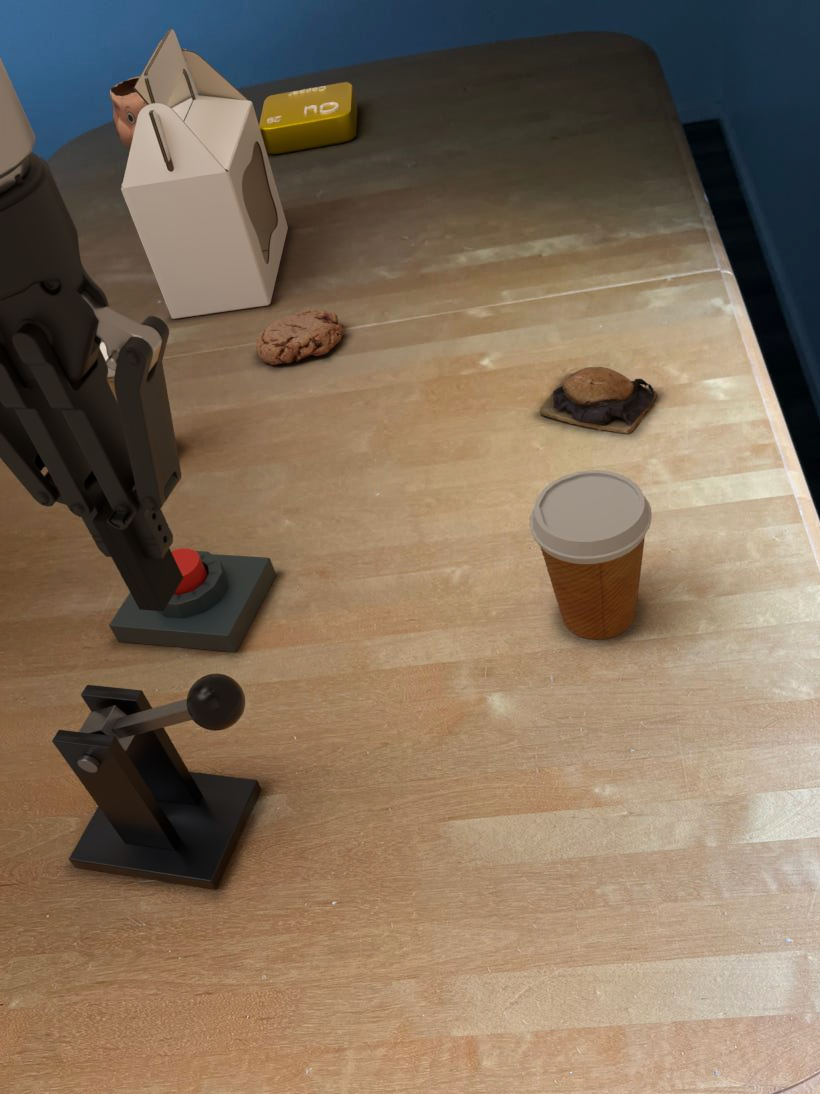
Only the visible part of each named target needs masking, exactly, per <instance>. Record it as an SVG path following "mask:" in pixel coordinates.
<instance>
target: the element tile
mask: <svg viewBox="0 0 820 1094" xmlns="http://www.w3.org/2000/svg"><path fill="white" fill-rule="evenodd" d="M353 87H354V86H353V85H352V83H350V82H349V81H344V82H337V83H332V84H331V83H330V84H327V85H321V86H315V87H309V88H303V89H300V90H293V91H287V92H281V93H276V94H271V95H268V96H267V97H266V98H265V99H264V101H263V106H262V110H261V115H260V121H259V123H258V124H259V128H260V131H261V135H262V138H263V142H264V145H265V149H266V152H267V155H271V156H276V155H282V154H288V153H294V152H300V151H305V150H312V149H316V148H317V149H318V148H323V147H328V146H334V145H335V146H336V145H339V144H344V143H349V142H351V141H352V140H354V139H355V138H356V136H357V128H358V127H357V123H358V106H357V101H356V97H355V91H354V88H353Z"/></svg>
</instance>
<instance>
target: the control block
mask: <svg viewBox="0 0 820 1094" xmlns="http://www.w3.org/2000/svg"><path fill="white" fill-rule="evenodd" d="M195 551H196V552H197V553H198V554H199V556H200V559H201V561H202V563H203V565H204V567H205V570H206V572H207V576H206V580H205V581H204V583H203V584H202V585H200V586H199V587H198V588H196V589H195V590H193V591H191V592H188V593H184V594H181V595H173V596H172V598H171V600H170V601H169V603H168V605H167V606H166V608H165V610H164V611H152V610H139V608H138V606H137V604H136V602H135V600H134V598H133V596H132V595H131V593H130V592H129V593H128V594H127V596H126V598H125V599H124V601H123V603H122V604H121V606H120V607H119V609H118V611H116V614H115V615H114V617H113V618H112V620H111V621H110V623H108V627H109V628H110V630H111V632H112V633H113V635H114V638H115V639H116V640H117V642H118V643H119V642H120V643H130V644H141V645H151V646H152V645H153V646H163V647H175V648H184V649H197V650H206V651H207V650H208V651H219V652H230V653H236V652H237V651H238V649H239V647H240V645H241V643H242V641H243V639H244V637H245V635H246V634H247V632H248V630H249V629H250V626H251V624H252V622H253V620H254V619H255V617H256V615H257V612H258V611H259V608H260V607H261V605H262V603H263V601H264V599H265V597H266V595H267V593H268V591H269V589H270V587H271V586H272V583H273V581H274V580H275V578H276V576H277V573H276V570H275V567H274V565H273V562H272V560H271V557H263V556H247V555H233V554H231V555H230V554H216V553H211V552H210V551H206V550H205V551H204V550H195Z"/></svg>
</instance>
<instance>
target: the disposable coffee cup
mask: <svg viewBox="0 0 820 1094" xmlns="http://www.w3.org/2000/svg"><path fill="white" fill-rule="evenodd" d="M652 513H653V512H652V507H651V505H650V502H649V500H648V499H647V497H645V495H644V492H643V491H642V489H641V487H640V486H639V485H638V483H636V482H634V480H632V479H631V478H630V477H627V476H625V475H623V474H620V473H618V472H613V471H609V470H602V469H601V470H600V469H589V470H581V471H575V472H573V473H568V474H565V475H563V476H561V477H559V478H557V479H555V480H553V481H552V482H549V483H548V485H546V486H545V487H544V488H543V489H542V490H541V491H540V493H539V494H538V495H537V497H536V499H535V502H534V505H533V508H532V510H531V513H530V516H529V528H530V532H531V535H532V538H533V539H534V540H535V542H536V543H537V545H538V546H539V547H540V550H541V553H542V556H543V560H544V563H545V567H546V569H547V573H548V576H549V579H550V583H551V586H552V589H553V593H554V596H555V599H556V603H557V605H558V609H559V612H560V616H561V619H562V623H563V624H564V627H566V628H567V629H568V631H569V632H571V633H572V634H574V635H575V636H577V637H581V638H585V639H587V640H603V639H609V638H613V637H616V636H618V635H620V634H621V633H623V632H625V631H626V630H628V629H629V628H630V626H631V625H632V624H633V622H634V620H635V618H636V615H637V605H638V595H639V589H640V581H641V571H642V563H643V556H644V547H645V540H646V539H645V538H646V536H647V535H646V534H647V532H648V531H649V529H650V527H651V523H652V518H653V517H652V516H653V514H652Z"/></svg>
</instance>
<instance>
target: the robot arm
mask: <svg viewBox="0 0 820 1094" xmlns="http://www.w3.org/2000/svg"><path fill="white" fill-rule="evenodd" d="M35 144H36V135H35V132H34V131H33V127H32V125H31V123H30V121H29V119H28V117H27V114H26V112H25V110H24V108H23V105H22V104H21V101H20V99H19V96H18V94H17V92H16V90H15V87H14V85H13V82H12V81H11V79H10V76H9V74H8V72H7V69H6V67H5V64H4V63H3V60H2V58H1V57H0V460H1V461H2V462H3V463H4V465H5V466H6V467H7V468H8V469H9V470H10V472H11V473H12V474H13V475H14V476H15V478H16V479H17V480H18V481H19V483H20V484H22V486H23V487H24V489H25V490H26V491H27V492H28V493H29V495H31V497H32V498H33V499H34V501H36V502H37V504H40V505H42V506H43V507H52V506H54V505H55V503H59V504H61V505H64V506H67V508H68V510H69V511H70V513H72V514H73V515H75V516H77V517H79V518H81V519H82V521H83V523H84V525H85V527H86V528H87V530H88V532H89V534H90V535H91V538H92V539H93V542H94V544H95V545H96V547H97V549H98V551H100V552H101V554H103V556H105V557H106V558H107V557H109V558H111V560H112V561H113V563H114V565H115V567H116V568H117V571H118V573H119V574H120V576H121V578H122V580H123V581H124V583H125V586H126V587H127V589H128V591H129V593H131V595H132V596H133V598H134V600H135V602H136V604H137V606H138V608H139V610H152V611H164V610H165V608H166V606H167V605H168V603H169V601H170V600H171V598H172V596H173V595H174V593H175V591H176V590H177V588H178V586H179V585H180V583H181V581H182V580H183V578H184V577H183V575H182V573H181V571H180V569H179V567H178V565H177V563H176V561H175V559H174V557H173V555H172V552H171V551H172V550H171V546H172V544H173V543H174V535H173V532H172V530H171V528H170V527H169V523H168V522H167V520H166V517H165V515H164V513H163V511H162V508H163V506H164V505H165V503H166V502H167V500H168V498H169V497H170V495H171V494H172V493H173V491H174V489H175V488H176V487H177V486H178V483H179V482H180V480H181V479H182V470H181V469H182V468H181V464H180V458H179V452H178V446H177V440H176V434H175V428H174V422H173V417H172V411H171V406H170V399H169V394H168V388H167V382H166V376H165V370H164V365H163V359H164V356H165V352H166V347H167V344H168V341H169V337H170V329H169V327H168V324H166V322H165V321H164V320H163V319H161V318H160V317H157V316H155V315H149V316H147V317H145V318H144V319H143V321H142V322H141V323H139V322H137V321H135V320H134V319H131V318H130V317H127V316H126V315H124V314H122V313H121V312H118V311H117V310H115V309H113V308H111V307H110V305H109V301H108V298H107V296H106V294H105V292H104V290H103V289H102V288H101V287H100V286H99V285H98V283H96V281H94V280H93V278H92V277H91V276H90V275H89V273H88V272H87V270H86V269H85V268H84V265H83V263H82V259H81V253H80V246H79V244H80V243H79V233H78V230H77V227H76V224H75V222H74V220H73V218H72V214H71V213H70V211H69V209H68V206H67V204H66V202H65V200H64V199H65V198H64V197H63V195H62V193H61V191H60V188H59V186H58V183H57V182H56V179H55V176H54V174H53V172H52V170H51V167H50V165H49V163H48V162H47V161H46V159H44V158H43V157H41V156H39V155H38V154H36V153H35V152H33V149H34V147H35ZM102 342H104V344H105V346H106V350H107V355H108V357H109V358H108V359H107V360H106V361H105V358H104V356H103V354H102V352H101V350H100V344H101V343H102ZM108 368H109V369H111V370H114V371H115V378H114V384H115V393H116V398H117V400H116V398H115V396H114V394H113V392H112V390H111V388H110V385H109V383H108V381H107V376H108ZM44 468H46V470H47V471H46V473H45V474H44V473H42V471H43V470H44Z"/></svg>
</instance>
